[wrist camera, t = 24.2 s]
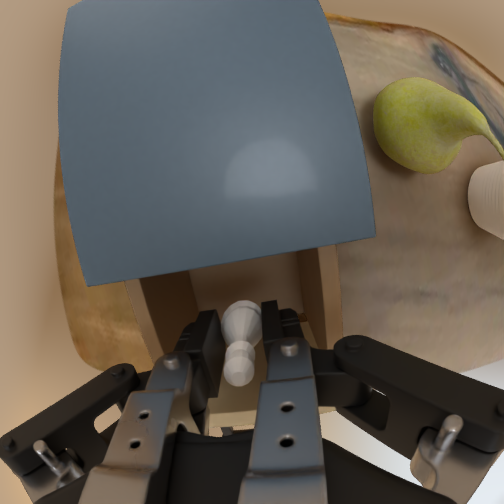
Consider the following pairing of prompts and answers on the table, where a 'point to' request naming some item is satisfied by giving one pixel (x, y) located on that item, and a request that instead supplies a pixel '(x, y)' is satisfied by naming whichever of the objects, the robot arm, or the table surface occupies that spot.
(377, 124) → the fruit
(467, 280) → the table surface
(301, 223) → the cabinet
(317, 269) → the drawer
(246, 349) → the chess pawn
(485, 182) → the cup
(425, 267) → the table surface
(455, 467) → the robot arm
